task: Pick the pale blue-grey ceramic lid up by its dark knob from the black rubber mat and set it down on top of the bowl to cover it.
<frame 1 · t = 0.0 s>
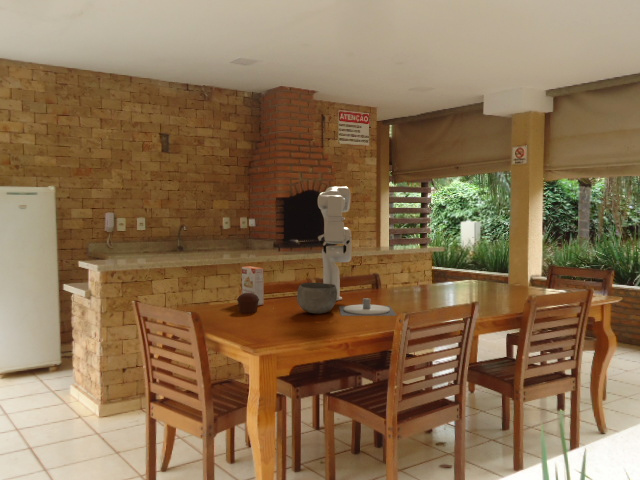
hand: (334, 253, 304), 31 cm above the table, fingers open, 9 cm apart
mat: (366, 311, 311), on the table
lid: (366, 310, 311), point 1 cm above the table, touching mat
cracker box: (252, 304, 335), on the table
bowl: (317, 313, 307), on the table
muffin: (248, 312, 310), on the table
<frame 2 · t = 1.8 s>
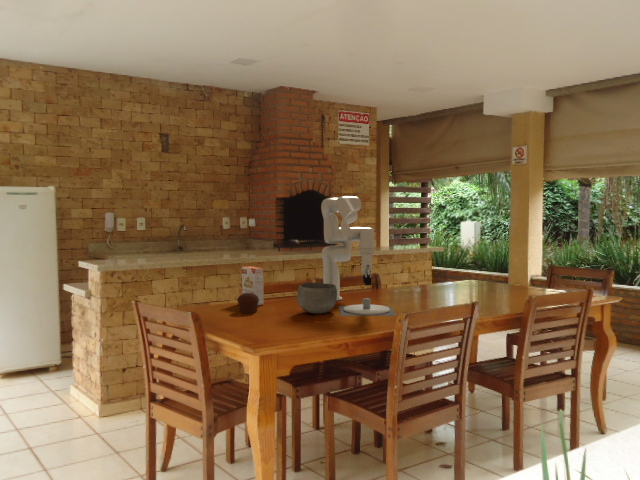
hand: (367, 284, 310), 15 cm above the table, fingers open, 9 cm apart
nothing on the table moved.
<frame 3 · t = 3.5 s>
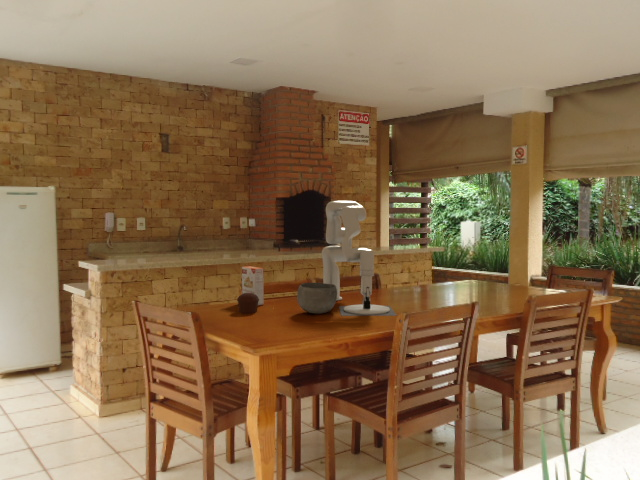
hand: (366, 307, 311), 2 cm above the table, fingers closed on lid, 4 cm apart
lid: (366, 310, 311), point 1 cm above the table, touching gripper, mat
everything else where it was.
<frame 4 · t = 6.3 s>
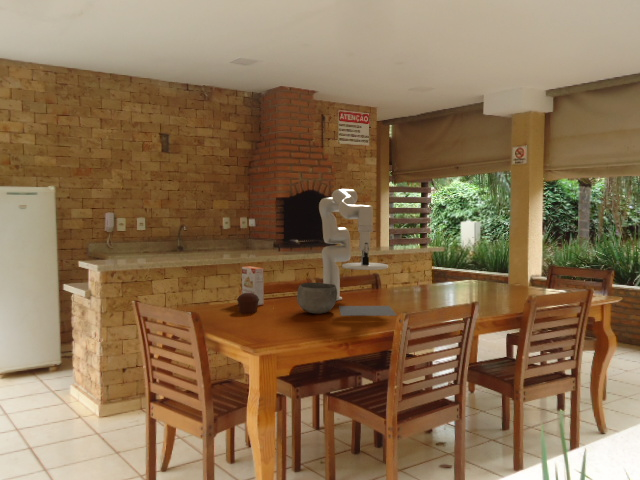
hand: (365, 263, 309), 25 cm above the table, fingers closed on lid, 4 cm apart
lid: (365, 267, 309), point 23 cm above the table, touching gripper
everything else where it was.
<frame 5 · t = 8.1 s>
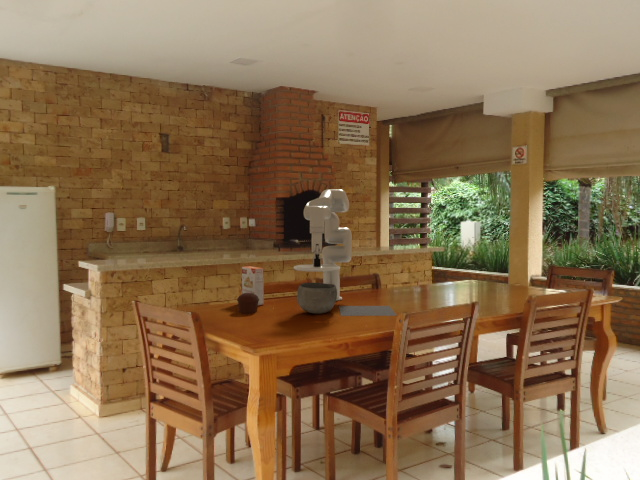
hand: (317, 265, 305), 25 cm above the table, fingers closed on lid, 4 cm apart
lid: (317, 268, 305), point 23 cm above the table, touching gripper
everything else where it was.
when the fingers open (18 cm above the table, at t = 9.5 s): lid drops 2 cm, resting on bowl.
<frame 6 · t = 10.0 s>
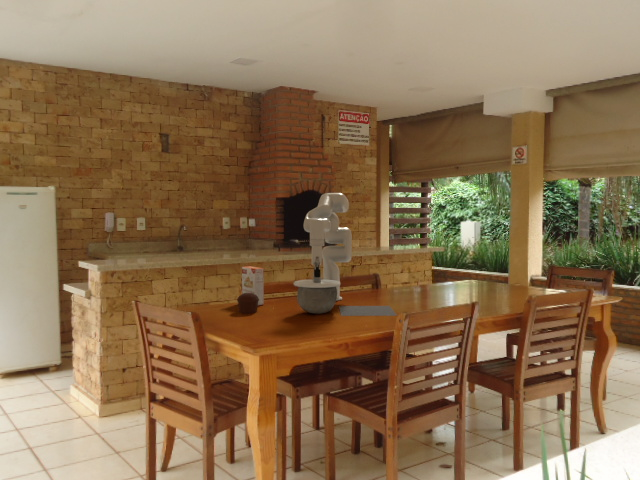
hand: (317, 276, 305), 19 cm above the table, fingers open, 9 cm apart
lid: (317, 284, 306), point 15 cm above the table, touching bowl
bowl: (317, 313, 307), on the table, touching lid
everything else where it was.
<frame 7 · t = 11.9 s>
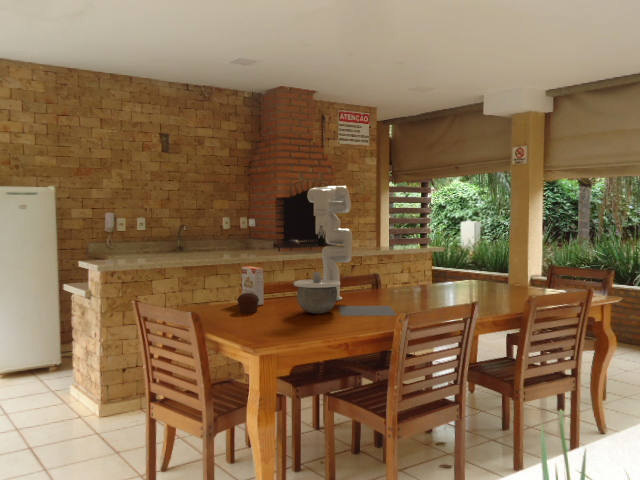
hand: (321, 245, 313), 35 cm above the table, fingers open, 9 cm apart
nothing on the table moved.
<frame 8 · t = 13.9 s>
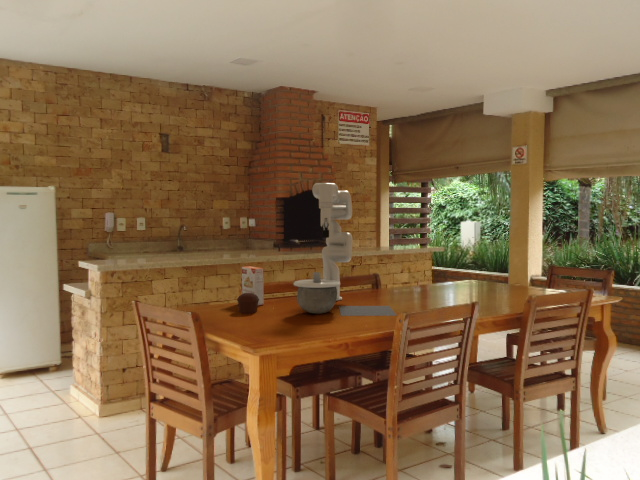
hand: (325, 237, 324), 38 cm above the table, fingers open, 9 cm apart
nothing on the table moved.
at the end: lid inside the target area (0.1 cm from its centre), point 14.9 cm above the table; lid 0.1 cm from the bowl (horizontally); the gripper is holding nothing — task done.
